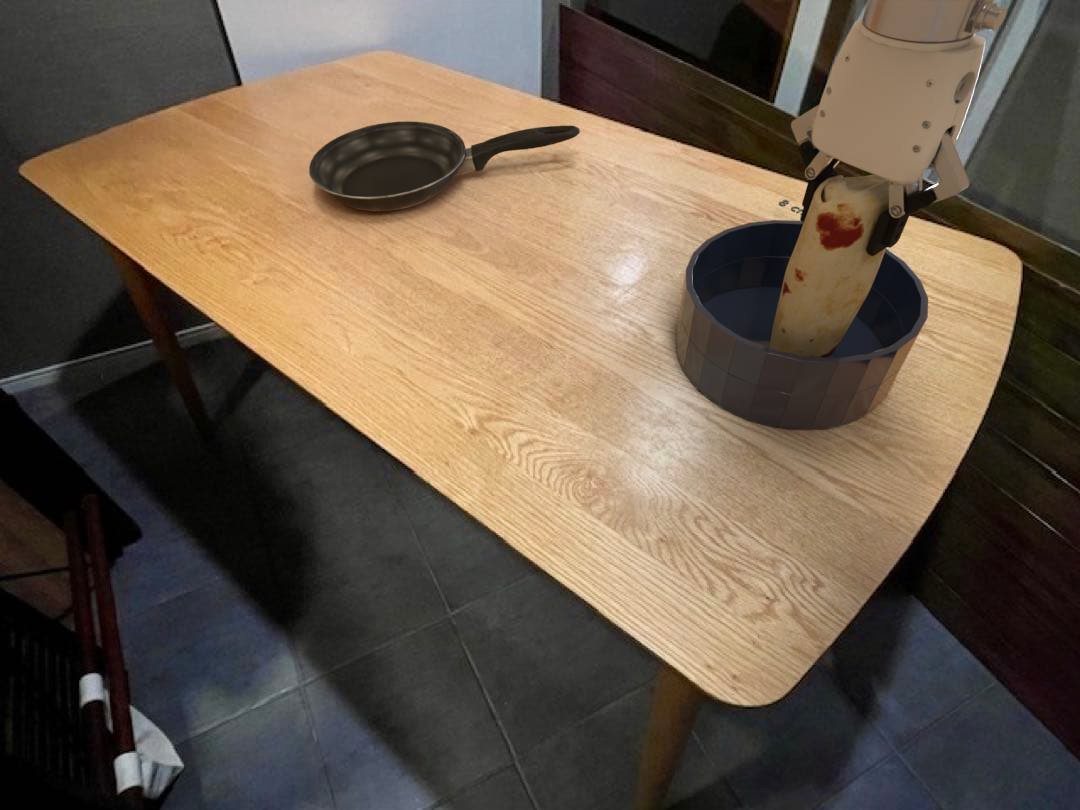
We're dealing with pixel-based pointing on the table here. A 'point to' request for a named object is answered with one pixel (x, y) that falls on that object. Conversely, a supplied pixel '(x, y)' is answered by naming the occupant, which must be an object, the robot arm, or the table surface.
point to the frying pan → (410, 161)
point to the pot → (746, 327)
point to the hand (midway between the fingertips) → (845, 231)
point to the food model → (830, 266)
